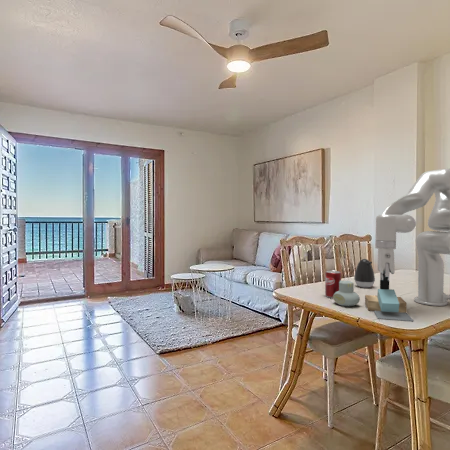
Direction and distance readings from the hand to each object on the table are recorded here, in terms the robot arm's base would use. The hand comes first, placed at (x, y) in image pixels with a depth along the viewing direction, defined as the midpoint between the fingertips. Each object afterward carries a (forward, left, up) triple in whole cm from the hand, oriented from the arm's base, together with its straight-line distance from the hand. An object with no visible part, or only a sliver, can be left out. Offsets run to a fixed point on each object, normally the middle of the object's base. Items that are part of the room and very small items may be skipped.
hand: (384, 289), depth 133 cm
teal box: (-1, +3, -5) cm, 6 cm away
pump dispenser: (+2, -44, -9) cm, 45 cm away
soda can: (+19, -18, -9) cm, 28 cm away
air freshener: (+14, -5, -9) cm, 17 cm away
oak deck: (-1, -3, -9) cm, 9 cm away
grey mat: (-2, +8, -9) cm, 12 cm away
